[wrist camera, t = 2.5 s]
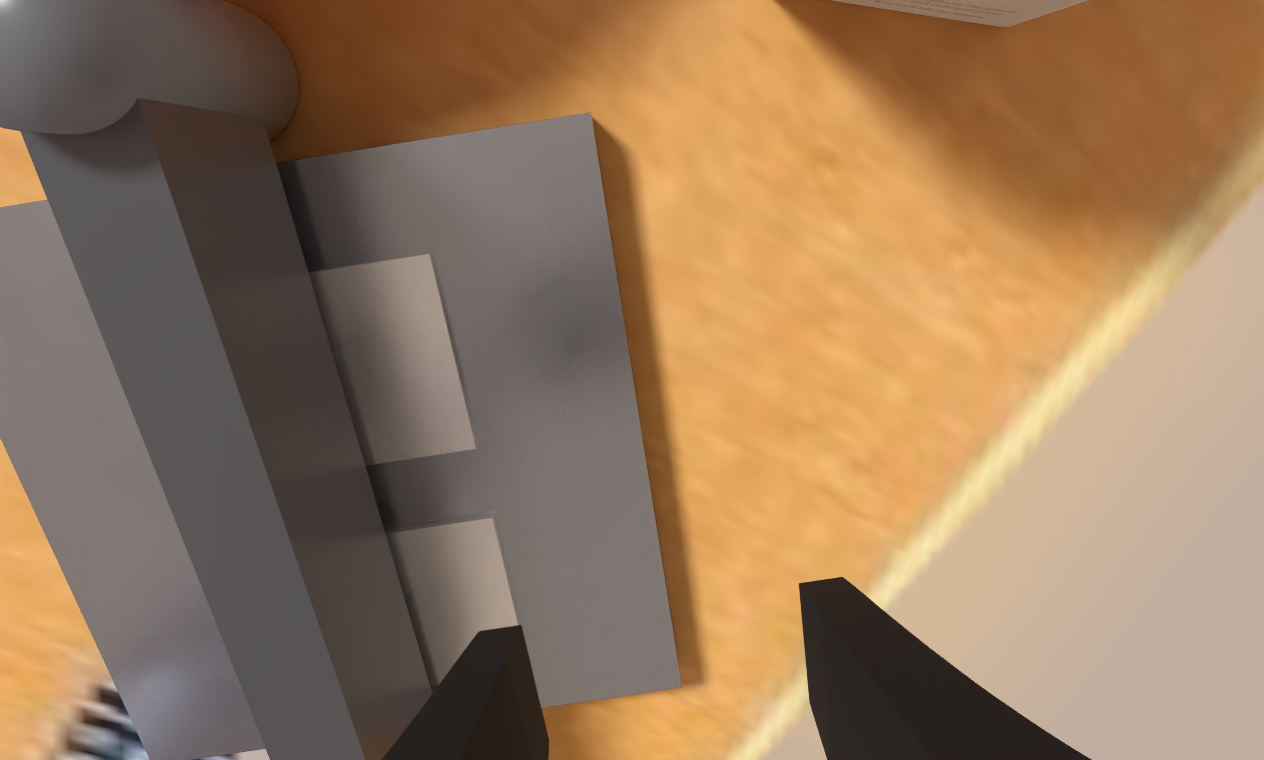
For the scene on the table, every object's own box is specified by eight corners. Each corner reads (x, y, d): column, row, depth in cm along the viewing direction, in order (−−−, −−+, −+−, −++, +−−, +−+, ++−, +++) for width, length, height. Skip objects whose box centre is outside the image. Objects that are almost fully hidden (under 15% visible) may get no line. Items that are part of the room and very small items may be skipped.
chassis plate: (678, 663, 21) (682, 692, 20) (173, 738, 21) (148, 770, 20) (591, 116, 16) (590, 112, 15) (-59, 220, 16) (-109, 223, 15)
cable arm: (142, 15, 15) (-153, -85, 9) (275, -6, 15) (63, -121, 9) (374, 715, 21) (282, 924, 15) (470, 701, 21) (415, 905, 15)
